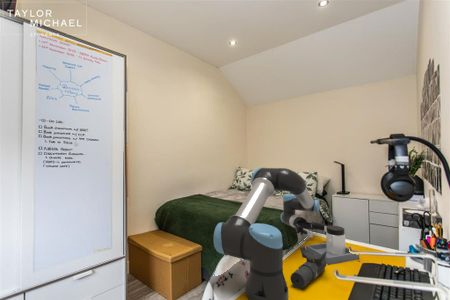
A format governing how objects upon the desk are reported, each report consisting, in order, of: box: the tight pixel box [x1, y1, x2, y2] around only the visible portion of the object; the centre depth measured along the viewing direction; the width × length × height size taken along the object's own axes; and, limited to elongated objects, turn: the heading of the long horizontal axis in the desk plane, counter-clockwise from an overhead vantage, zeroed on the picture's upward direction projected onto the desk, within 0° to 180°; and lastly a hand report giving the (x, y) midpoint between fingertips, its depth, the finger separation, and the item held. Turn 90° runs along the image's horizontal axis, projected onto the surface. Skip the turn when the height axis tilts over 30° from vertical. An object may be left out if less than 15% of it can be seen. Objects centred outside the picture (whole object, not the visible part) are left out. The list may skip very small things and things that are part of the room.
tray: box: [305, 242, 360, 266], centre depth 116 cm, size 18×16×3 cm
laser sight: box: [290, 245, 327, 290], centre depth 95 cm, size 10×22×10 cm, turn 137°
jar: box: [325, 225, 347, 255], centre depth 118 cm, size 9×8×12 cm
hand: (322, 233), depth 122 cm, fingers open, 13 cm apart
